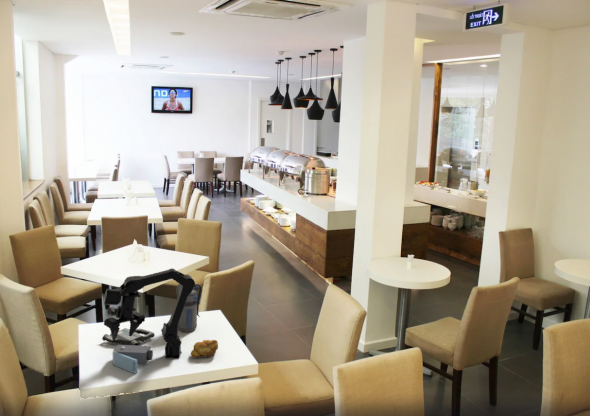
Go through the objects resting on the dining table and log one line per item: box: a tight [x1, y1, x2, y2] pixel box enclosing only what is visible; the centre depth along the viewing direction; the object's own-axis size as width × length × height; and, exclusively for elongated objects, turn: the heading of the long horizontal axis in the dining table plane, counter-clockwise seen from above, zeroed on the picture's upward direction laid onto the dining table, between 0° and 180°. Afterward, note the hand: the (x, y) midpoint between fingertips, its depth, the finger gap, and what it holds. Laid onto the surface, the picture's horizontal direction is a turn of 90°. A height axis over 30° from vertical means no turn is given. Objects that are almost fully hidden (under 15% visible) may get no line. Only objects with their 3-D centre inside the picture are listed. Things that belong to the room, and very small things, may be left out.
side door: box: [112, 351, 138, 374], centre depth 222 cm, size 15×2×6 cm, turn 61°
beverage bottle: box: [175, 283, 203, 333], centre depth 266 cm, size 10×13×25 cm
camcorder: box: [102, 327, 155, 346], centre depth 250 cm, size 16×20×5 cm
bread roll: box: [190, 339, 219, 359], centre depth 238 cm, size 13×10×8 cm
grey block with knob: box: [112, 344, 154, 366], centre depth 229 cm, size 17×7×7 cm, turn 91°
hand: (122, 338), depth 225 cm, fingers open, 9 cm apart
